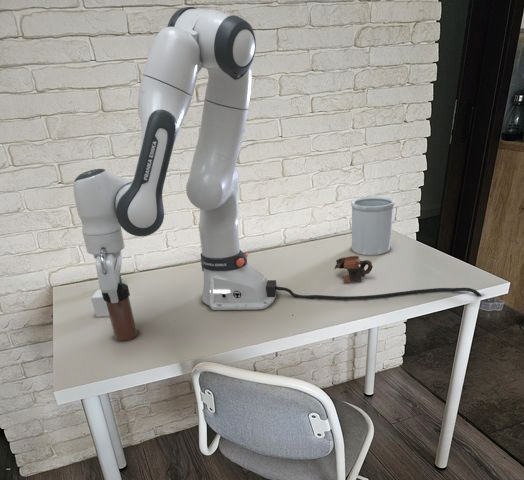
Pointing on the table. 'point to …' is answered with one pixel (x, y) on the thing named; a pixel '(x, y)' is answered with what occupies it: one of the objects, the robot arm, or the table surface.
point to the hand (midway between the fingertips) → (116, 295)
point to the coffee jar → (122, 320)
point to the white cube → (99, 304)
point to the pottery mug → (353, 268)
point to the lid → (121, 291)
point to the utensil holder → (372, 224)
